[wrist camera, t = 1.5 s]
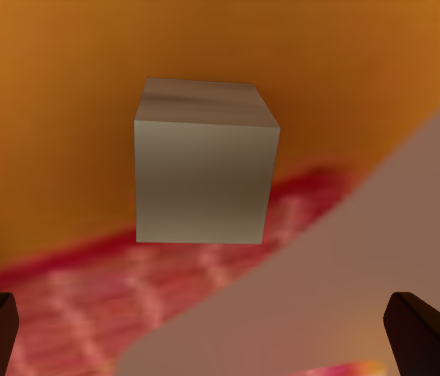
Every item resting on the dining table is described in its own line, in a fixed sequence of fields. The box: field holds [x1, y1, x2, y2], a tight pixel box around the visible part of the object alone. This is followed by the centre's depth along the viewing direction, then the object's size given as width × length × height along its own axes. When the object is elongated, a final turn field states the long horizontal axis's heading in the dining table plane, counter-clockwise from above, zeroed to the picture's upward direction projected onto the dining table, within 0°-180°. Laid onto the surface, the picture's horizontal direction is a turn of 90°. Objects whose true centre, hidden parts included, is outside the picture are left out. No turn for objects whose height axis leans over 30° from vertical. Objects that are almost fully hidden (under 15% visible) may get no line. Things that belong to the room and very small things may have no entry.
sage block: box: [134, 77, 281, 244], centre depth 17 cm, size 5×5×6 cm
